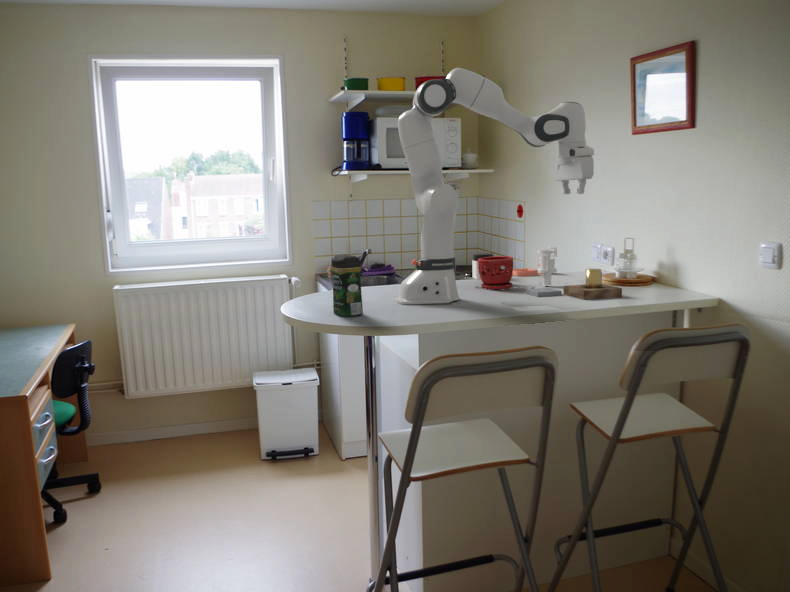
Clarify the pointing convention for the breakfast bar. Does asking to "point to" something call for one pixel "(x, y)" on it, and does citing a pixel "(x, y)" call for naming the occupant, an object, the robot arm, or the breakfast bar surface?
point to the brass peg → (593, 278)
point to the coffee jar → (347, 286)
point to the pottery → (526, 271)
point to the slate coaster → (544, 292)
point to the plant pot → (496, 272)
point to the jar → (475, 263)
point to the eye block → (592, 292)
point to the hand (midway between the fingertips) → (573, 194)
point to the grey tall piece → (547, 264)
